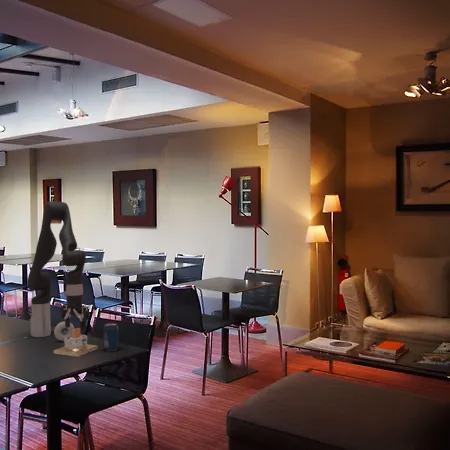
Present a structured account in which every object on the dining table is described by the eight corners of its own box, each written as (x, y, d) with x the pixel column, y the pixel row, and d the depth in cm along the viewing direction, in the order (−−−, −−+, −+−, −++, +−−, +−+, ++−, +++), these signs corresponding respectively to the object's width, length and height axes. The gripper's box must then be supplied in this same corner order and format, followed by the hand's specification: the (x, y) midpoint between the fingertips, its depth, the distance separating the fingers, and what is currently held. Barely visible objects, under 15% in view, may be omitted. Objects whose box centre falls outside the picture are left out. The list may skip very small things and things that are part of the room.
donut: (54, 343, 254) (54, 323, 253) (54, 341, 257) (53, 321, 257) (75, 340, 258) (75, 321, 257) (74, 339, 261) (74, 319, 261)
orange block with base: (66, 341, 236) (66, 329, 236) (75, 338, 242) (75, 326, 242) (77, 342, 234) (77, 330, 234) (85, 339, 239) (85, 327, 239)
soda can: (119, 347, 243) (119, 322, 243) (117, 351, 236) (116, 325, 236) (105, 347, 243) (104, 322, 243) (102, 351, 236) (101, 326, 236)
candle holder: (53, 353, 235) (53, 339, 234) (74, 346, 247) (73, 332, 247) (78, 356, 229) (77, 342, 229) (97, 348, 242) (97, 335, 242)
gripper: (92, 293, 238) (92, 327, 238) (68, 291, 244) (68, 325, 244) (81, 295, 231) (82, 331, 232) (56, 293, 237) (57, 328, 237)
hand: (75, 328), depth 238 cm, fingers open, 8 cm apart
